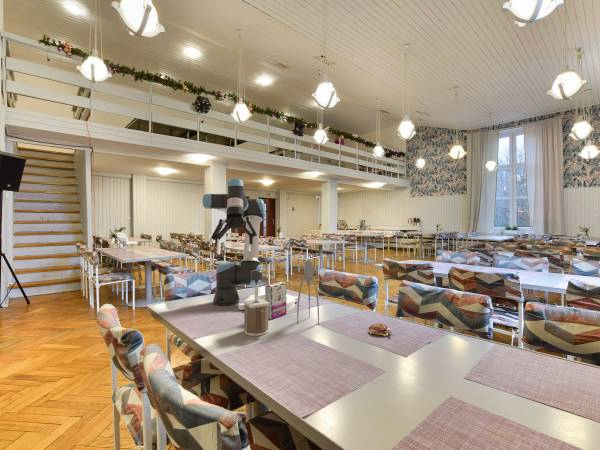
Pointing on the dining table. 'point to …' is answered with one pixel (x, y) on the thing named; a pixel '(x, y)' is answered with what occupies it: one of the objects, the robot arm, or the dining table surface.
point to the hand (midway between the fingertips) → (233, 252)
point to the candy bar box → (276, 299)
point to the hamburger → (379, 329)
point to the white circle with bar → (289, 299)
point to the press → (256, 317)
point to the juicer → (308, 277)
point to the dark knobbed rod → (256, 281)
